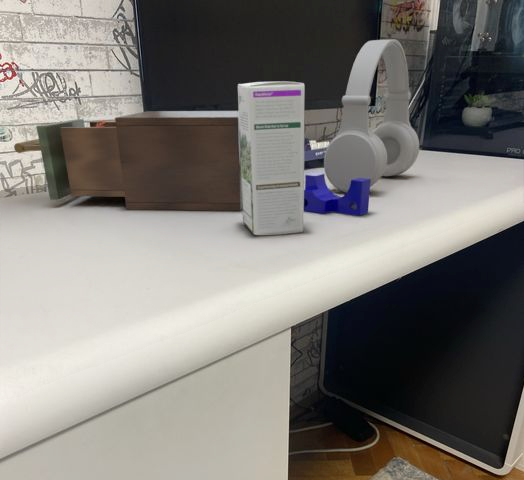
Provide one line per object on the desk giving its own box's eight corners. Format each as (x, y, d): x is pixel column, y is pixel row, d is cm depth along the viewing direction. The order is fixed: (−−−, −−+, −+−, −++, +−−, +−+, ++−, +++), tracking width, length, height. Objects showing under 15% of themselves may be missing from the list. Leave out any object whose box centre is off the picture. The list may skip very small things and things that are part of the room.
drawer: (15, 199, 70) (-1, 126, 66) (55, 183, 80) (43, 119, 76) (151, 201, 68) (143, 125, 64) (174, 184, 78) (169, 118, 74)
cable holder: (297, 209, 67) (298, 176, 65) (313, 204, 70) (314, 172, 68) (353, 218, 63) (355, 183, 61) (367, 212, 65) (370, 179, 63)
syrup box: (305, 232, 57) (309, 81, 50) (251, 236, 56) (248, 82, 49) (289, 220, 62) (291, 80, 55) (240, 224, 61) (235, 81, 54)
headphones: (369, 172, 92) (379, 44, 84) (417, 175, 88) (433, 41, 80) (320, 192, 77) (325, 37, 68) (375, 197, 73) (389, 34, 64)
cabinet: (126, 209, 68) (114, 117, 63) (154, 190, 80) (147, 111, 75) (240, 211, 67) (237, 117, 62) (253, 191, 78) (251, 110, 73)
